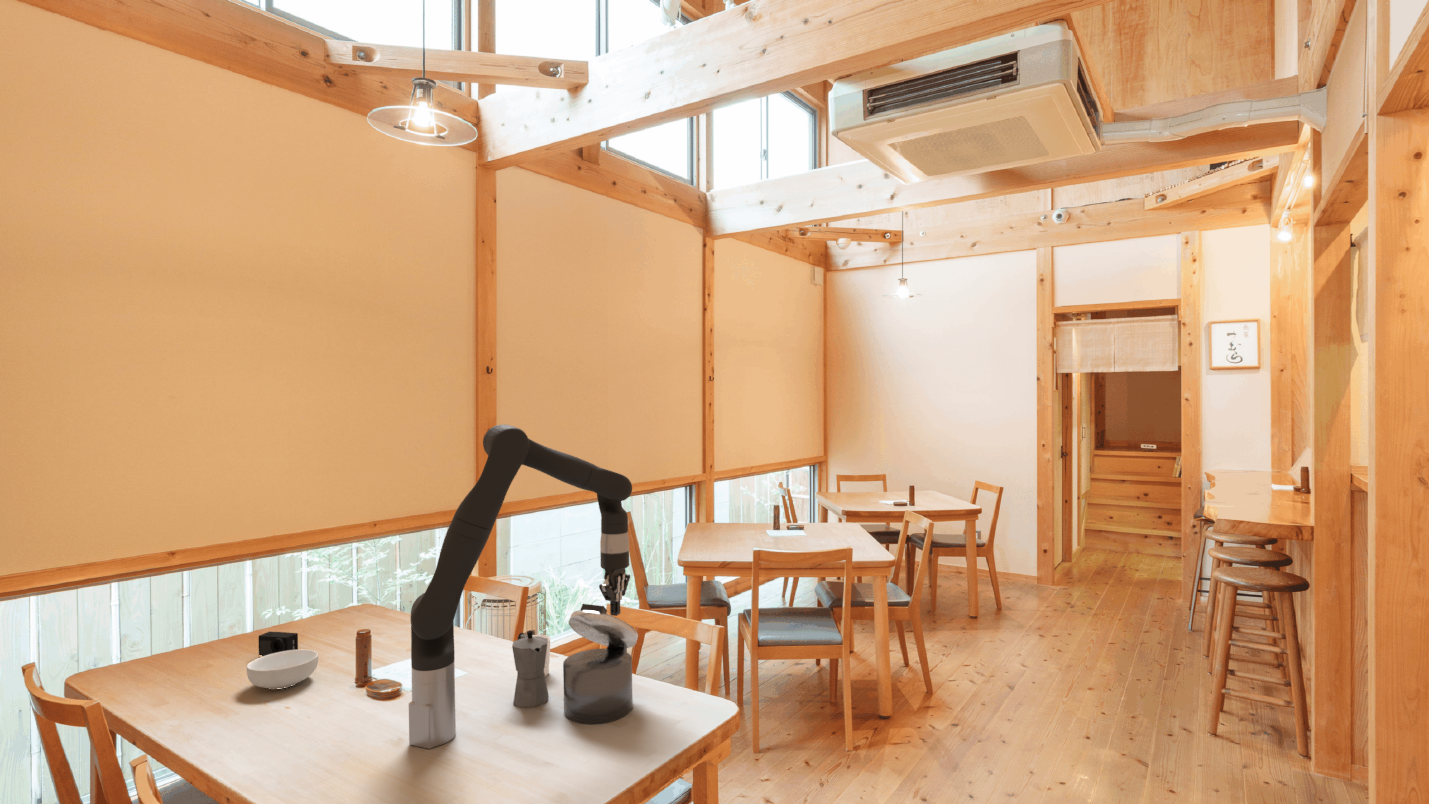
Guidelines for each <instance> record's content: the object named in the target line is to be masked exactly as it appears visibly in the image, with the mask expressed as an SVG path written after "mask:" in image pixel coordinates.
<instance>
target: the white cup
mask: <svg viewBox="0 0 1429 804" xmlns="http://www.w3.org/2000/svg"><path fill="white" fill-rule="evenodd" d="M536 636H539V637H543V638H547V639H548V642H547V651H546V659H545V667H544V673H545V677H547V676H548V675H549V674H550V673H549V672H550V655H551V637H550V636H549V635H546V634H533V635H532V637H536Z"/></svg>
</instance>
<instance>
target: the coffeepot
mask: <svg viewBox="0 0 1429 804" xmlns="http://www.w3.org/2000/svg"><path fill="white" fill-rule="evenodd" d="M532 635H534V630H528V631H526V633H524V632H520V633H519V634H518V636H517V640H513V642H512V646H511V649H512V653H513V659H514V665H515V666H514V667H515V670H516V672H517V676H516V683H515V688H514V689H515V690H514V696H513V705H515V706H516V707H519V708H524V709H525V708H526V709H527V708H535V707H539V706H542V705H543V704H545V703H546V702H548V701H549V690H548V686H547V685H548V684H547V679H546V676H545V673H544V667H545V659H546V651H547V642H548V639H547V638H543V637H539V636H536V637H532ZM541 704H542V705H541Z"/></svg>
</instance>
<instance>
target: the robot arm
mask: <svg viewBox="0 0 1429 804" xmlns="http://www.w3.org/2000/svg"><path fill="white" fill-rule="evenodd" d="M482 447H483V450H484V452H485V454H486V455H487V458H486V462H485V464H484V467H483V469H482V472H481V474H480V477H479V479H478V480H477V481H476V483H475V485H473V487H472V488H471V490H470V491H469V492H468V493H467V495H465V497H464V498H463V500H462V501H461V502H460V504H459V505H458V506H457V509H456V511H455V513H454V515H453V517H452V519H451V522H450V524H449V526H448V527H447V531H446V533H445V537H444V539H443V542H442V546H441V549H440V552H439V556H438V560H437V565H436V568H435V571H434V573H433V576H432V577H431V580H430V582H429V584H428V586H427V588H426V590H425V592H423V593H422V594H421V595H419V596H418V597H417V598H416V599H415V600H414V602H413V603H412V606H411V609H410V635H411V636H410V637H411V638H410V641H411V642H410V643H411V645H410V647H411V648H410V652H411V653H410V659H411V660H410V661H411V701H410V702H409V703H408V741H409V742H408V745H410V746H414V747H419V748H424V749H430V750H431V749H433V748H434V747H437V746H442V745H444V744H447V743H449V742H450V741H452V740H453V739H454V738H455V737H456V735H457V734H456V733H457V731H456V729H457V728H456V727H457V726H456V724H457V723H456V721H457V720H456V678H455V677H456V676H455V675H456V674H455V673H456V670H455V669H456V668H455V667H456V666H455V663H456V662H455V636H454V635H455V630H454V625H455V624H454V620H455V617H456V613H457V609H458V606H459V603H460V600H461V598H462V595H463V591H464V588H465V586H466V584H467V582H468V579H469V578H470V576H471V574H472V572H473V570H474V568H475V567H476V565H477V562H478V561H479V558H480V556H481V555H482V552H483V551H484V548H485V546H486V544H487V543H488V540H489V537H490V535H491V534H492V530H493V528H494V526H495V524H496V523H495V522H496V521H497V518H498V515H499V514H500V511H501V509H502V507H503V503H504V501H505V498H506V496H507V493H508V491H509V488H510V486H511V485H512V483H513V481H514V479H515V478H516V475H517V474H518V472H519V470H520V469H521V466H526V467H528V468H532V469H534V470H536V471H538V472H541V473H544V474H545V475H548V476H549V477H552V478H553V479H556V480H558V481H560V482H563V483H566V485H567V484H568V485H570V486H573V487H574V488H578V489H581V490H584V491H590V492H593V493H595V494H596V496H597V497H596V498H597V503H598V509H599V513H600V517H601V519H600V521H601V522H600V523H601V524H600V526H601V527H600V532H601V534H600V541H599V542H600V545H599V546H600V547H599V548H600V553H599V554H600V567H601V569H603V570H604V576H603V579H604V581H603V583H600V584H599V586H598V588H599V590H600V593H601V595H602V596H603V598H604V600H605V601H609V603H610V605H609V607H610V608H609V609H610V610H609V611H610V612H609V615H611V616H614V617H617V616H619V615H620V614H621V600H622V599H623V597H624V596H626V592H627V589H628V586H629V583H630V579H631V575H630V574H627V573H626V572H627V571H626V569H628V567H629V566H630V537H629V522H628V521H629V519H628V518H629V517H628V512H627V511H626V510H625V509H624V508H623V505H622V502H623V501H625V500H627V499H628V498H629V497H631V495H632V492H633V484H632V482H631V480H630V478H628V477H627V476H626V475H624V474H622V473H618V472H616V471H614V470H613V471H612V470H609V469H606V468H602V467H600V466H597V465H596V464H593V463H591V462H589V461H587V460H585V459H582V458H579V457H577V456H574V455H572V454H568V453H565V452H562V451H560V450H556V449H553V448H550V447H547V446H545V445H542V444H540V443H539V442H536V441H535V440H532V439H530V438H528V435H527V434H526V432H525V431H524V430H522V429H521V428H519V427H516V426H513V425H510V424H503V423H502V424H497V425H494V426H492V427H490V428H489V429H488V430H487V431H486V432H485V434H484V435H483V439H482Z"/></svg>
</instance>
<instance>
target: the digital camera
mask: <svg viewBox="0 0 1429 804" xmlns="http://www.w3.org/2000/svg"><path fill="white" fill-rule="evenodd" d="M298 636H299V634H298V632H287V631H285V632H284V631H266V632H264V633H262V634H259V635H258V656H259V655H262V656H266V655H269V654H273V653H277V652H282V651H288V650H299V639H298V638H299V637H298Z"/></svg>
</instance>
